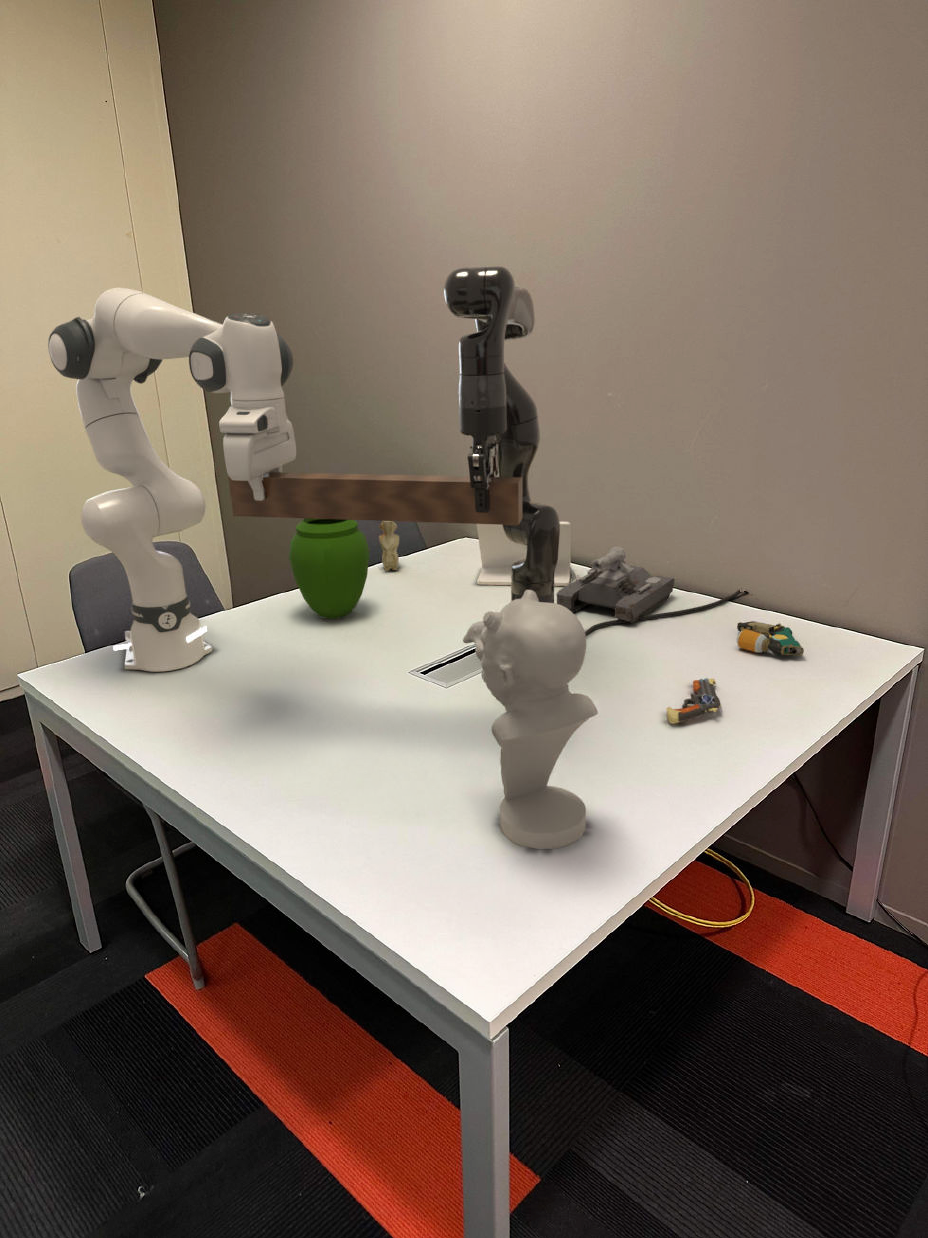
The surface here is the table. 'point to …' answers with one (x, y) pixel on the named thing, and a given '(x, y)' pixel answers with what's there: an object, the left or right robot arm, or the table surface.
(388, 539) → the sculpture
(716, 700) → the toy gun
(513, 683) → the bust sculpture
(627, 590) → the toy
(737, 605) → the table surface
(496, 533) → the tablet stand
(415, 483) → the beam
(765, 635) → the spray gun
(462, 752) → the table surface
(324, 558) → the vase
